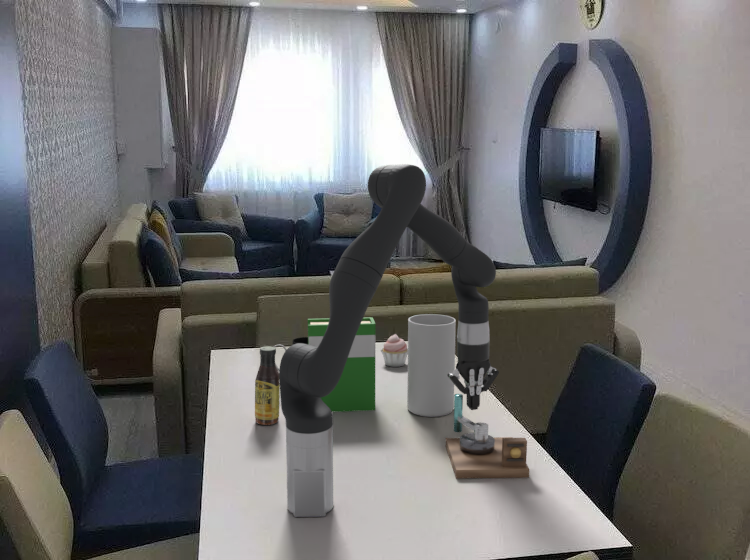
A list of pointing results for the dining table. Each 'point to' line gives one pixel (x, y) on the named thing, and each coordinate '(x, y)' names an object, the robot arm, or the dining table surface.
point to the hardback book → (351, 368)
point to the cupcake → (395, 351)
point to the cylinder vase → (431, 364)
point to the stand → (490, 459)
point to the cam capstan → (471, 441)
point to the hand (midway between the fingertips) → (473, 408)
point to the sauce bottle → (267, 388)
